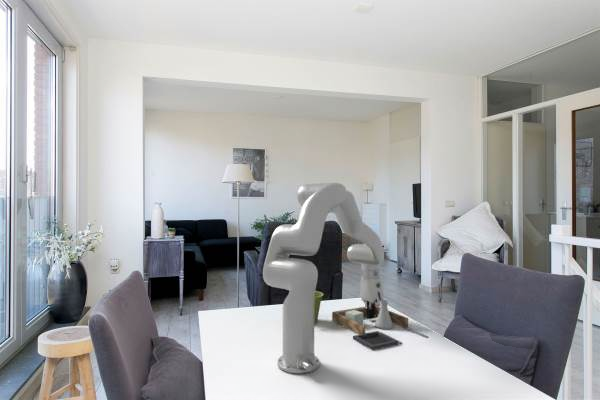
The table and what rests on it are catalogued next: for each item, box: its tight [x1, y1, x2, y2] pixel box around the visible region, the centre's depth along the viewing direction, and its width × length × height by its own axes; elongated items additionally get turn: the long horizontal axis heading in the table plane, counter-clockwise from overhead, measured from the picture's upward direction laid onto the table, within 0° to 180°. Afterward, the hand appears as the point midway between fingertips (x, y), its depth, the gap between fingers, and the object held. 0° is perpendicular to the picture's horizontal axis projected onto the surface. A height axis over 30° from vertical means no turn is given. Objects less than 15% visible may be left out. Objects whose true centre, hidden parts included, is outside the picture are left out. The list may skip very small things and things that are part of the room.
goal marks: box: [380, 326, 429, 345], centre depth 136 cm, size 11×13×1 cm
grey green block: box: [345, 310, 364, 326], centre depth 148 cm, size 5×5×5 cm
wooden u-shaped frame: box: [331, 306, 409, 335], centre depth 150 cm, size 20×22×4 cm
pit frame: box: [352, 330, 399, 351], centre depth 131 cm, size 11×11×1 cm
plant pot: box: [314, 290, 324, 324], centre depth 153 cm, size 12×12×11 cm
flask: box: [374, 299, 394, 330], centre depth 146 cm, size 7×7×10 cm
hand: (370, 317), depth 154 cm, fingers closed
